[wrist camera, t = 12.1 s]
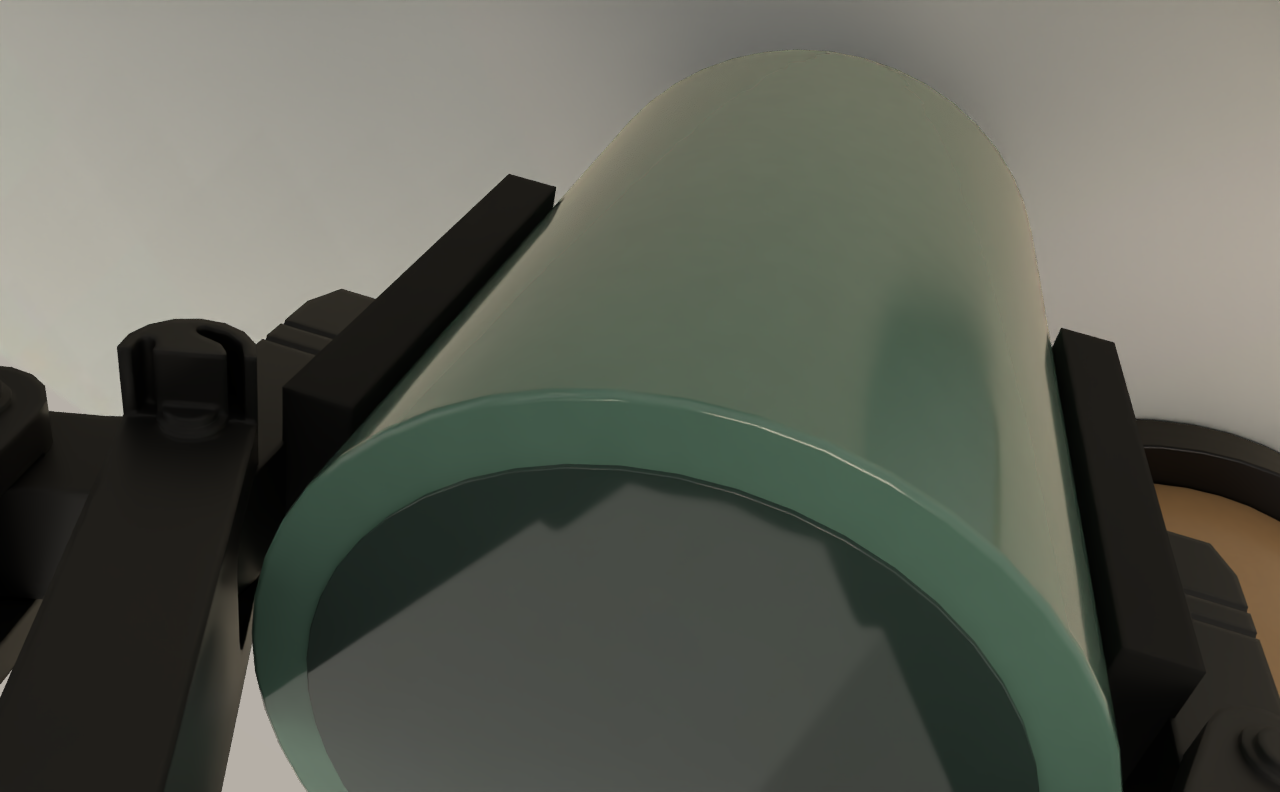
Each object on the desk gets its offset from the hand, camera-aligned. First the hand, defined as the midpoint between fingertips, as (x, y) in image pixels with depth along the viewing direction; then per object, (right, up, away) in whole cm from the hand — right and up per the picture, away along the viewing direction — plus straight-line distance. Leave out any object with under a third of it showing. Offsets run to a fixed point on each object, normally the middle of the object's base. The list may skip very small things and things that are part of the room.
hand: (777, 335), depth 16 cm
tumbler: (+1, +1, +2) cm, 2 cm away
